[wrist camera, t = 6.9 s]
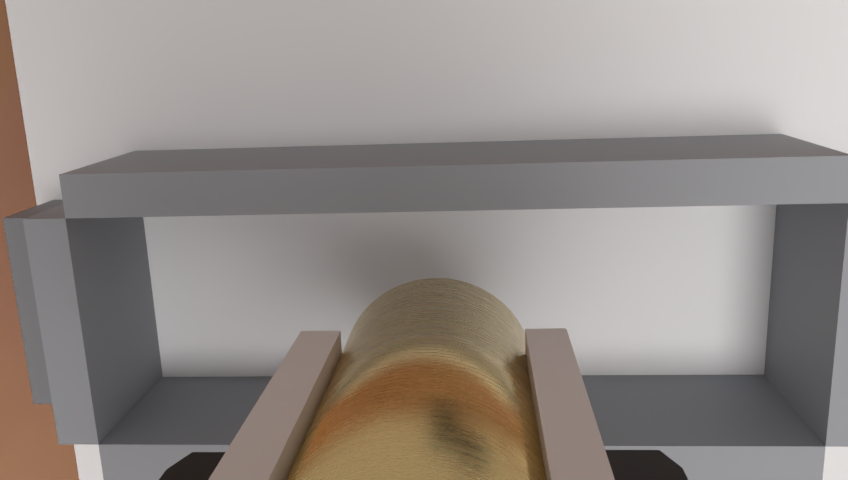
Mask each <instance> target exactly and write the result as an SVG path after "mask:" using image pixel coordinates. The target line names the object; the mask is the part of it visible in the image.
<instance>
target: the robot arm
mask: <svg viewBox="0 0 848 480" xmlns="http://www.w3.org/2000/svg"><path fill="white" fill-rule="evenodd" d="M341 355H342V347H341V331H301V332H300V333H299V335H298V337H297V338H296V340H295V341H294V343H293V345H292V346H291V348H290V349H289V351H288V353H287V354H286V356H285V357H284V359H283V361H282V362H281V364H280V365H279V367H278V369H277V370H276V372H275V373H274V375H273V377H272V378H271V380H270V381H269V383H268V385H267V386H266V388H265V390H264V391H263V393H262V394H261V396H260V398H259V399H258V401H257V402H256V404H255V406H254V407H253V409H252V410H251V412H250V414H249V415H248V417H247V418H246V420H245V422H244V423H243V425H242V426H241V428H240V430H239V431H238V433H237V434H236V436H235V438H234V439H233V441H232V442H231V444H230V446H229V447H228V449H227V451H226V452H192V453H190V454H189V455H187V456H186V457H184V458H183V459H181V460H180V461H178V462H177V463H175V464H174V465H172V466H171V467H169V468H168V469H166V471H165V472H164V473H163V475H162V476H161V477H160V479H159V480H287V477H288V475H289V473H290V471H291V468H292V466H293V464H294V461H295V459H296V457H297V455H298V452H299V450H300V448H301V446H302V443H303V441H304V439H305V437H306V434H307V432H308V430H309V427H310V425H311V423H312V421H313V418H314V416H315V414H316V412H317V409H318V407H319V405H320V402H321V400H322V398H323V396H324V393H325V391H326V389H327V387H328V384H329V382H330V380H331V378H332V375H333V373H334V371H335V368H336V366H337V364H338V362H339V359H340V357H341ZM525 355H526V361H527V367H528V374H529V380H530V386H531V392H532V398H533V404H534V410H535V416H536V422H537V428H538V434H539V440H540V446H541V452H542V458H543V464H544V470H545V476H546V480H688V478H687V476H686V474H685V472H684V470H683V468H682V467H681V466H679V465H678V464H677V463H675V462H674V461H673V460H672V459H670V458H669V457H668V456H666V455H665V454H664V453H663V452H661V451H660V450H605V447H604V444H603V441H602V438H601V435H600V432H599V429H598V426H597V422H596V419H595V416H594V413H593V410H592V407H591V404H590V401H589V398H588V394H587V391H586V388H585V385H584V382H583V379H582V376H581V373H580V369H579V366H578V363H577V360H576V357H575V354H574V351H573V348H572V344H571V341H570V338H569V335H568V332H567V329H566V328H545V329H525Z"/></svg>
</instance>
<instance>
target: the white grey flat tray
mask: <svg viewBox="0 0 848 480" xmlns="http://www.w3.org/2000/svg"><path fill="white" fill-rule="evenodd" d="M5 3H6V9H7V16H8V22H9V29H10V35H11V41H12V48H13V54H14V61H15V67H16V74H17V80H18V87H19V93H20V100H21V106H22V112H23V119H24V125H25V132H26V138H27V145H28V151H29V158H30V164H31V171H32V177H33V183H34V190H35V196H36V203H37V206H35V207H32V208H30V209H27V210H24V211H21V212H19V213H16V214H13V215H11V216H8V217H5V218H3V223H4V229H5V235H6V241H7V247H8V253H9V259H10V265H11V271H12V277H13V283H14V289H15V295H16V301H17V307H18V313H19V319H20V325H21V331H22V337H23V343H24V349H25V355H26V361H27V367H28V373H29V379H30V385H31V391H32V397H33V403H34V404H52V406H53V412H54V418H55V425H56V431H57V437H58V443H59V444H74V448H75V454H76V461H77V467H78V474H79V480H159V479H160V477H161V476H162V475H163V473H164V472H165V471H166V469H168V468H169V467H171V466H172V465H174V464H175V463H177V462H178V461H180V460H181V459H183V458H184V457H186V456H187V455H189V454H190V453H192V452H226V451H227V449H228V447H229V446H230V444H231V442H232V441H233V439H234V438H235V436H236V434H237V433H238V431H239V430H240V428H241V426H242V425H243V423H244V422H245V420H246V418H247V417H248V415H249V414H250V412H251V410H252V409H253V407H254V406H255V404H256V402H257V401H258V399H259V398H260V396H261V394H262V393H263V391H264V390H265V388H266V386H267V385H268V383H269V381H270V380H271V378H272V377H273V375H274V373H275V372H276V370H277V369H278V367H279V365H280V364H281V362H282V361H283V359H284V357H285V356H286V354H287V353H288V351H289V349H290V348H291V346H292V345H293V343H294V341H295V340H296V338H297V337H298V335H299V333H300V332H301V331H341V347H342V351H343V349H344V347H345V344H346V342H347V340H348V338H349V335H350V333H351V331H352V328H353V326H354V325H355V323H356V321H357V320H358V318H359V316H360V315H361V314H362V313H363V311H364V310H365V309H366V308H367V307H368V306H369V305H370V304H371V303H372V302H373V301H374V300H375V299H376V298H378V297H379V296H381V295H382V294H384V293H385V292H387V291H388V290H390V289H392V288H394V287H396V286H399V285H401V284H404V283H407V282H410V281H414V280H419V279H427V278H448V279H454V280H459V281H463V282H466V283H470V284H472V285H475V286H477V287H479V288H482V289H484V290H485V291H487V292H489V293H490V294H492V295H494V296H495V297H496V298H497V299H499V300H500V301H501V302H502V303H504V304H505V306H506V307H507V308H508V309H509V310H510V311H511V312H512V313H513V314H514V316H515V317H516V318H517V320H518V321H519V323H520V324H521V326H522V328H523V330H524V332H525V329H545V328H566V329H567V332H568V335H569V338H570V341H571V344H572V348H573V351H574V354H575V357H576V360H577V363H578V366H579V369H580V373H581V376H582V379H583V382H584V385H585V388H586V391H587V394H588V398H589V401H590V404H591V407H592V410H593V413H594V416H595V419H596V422H597V426H598V429H599V432H600V435H601V438H602V441H603V444H604V447H605V450H660V451H661V452H663V453H664V454H665V455H666V456H668V457H669V458H670V459H672V460H673V461H674V462H675V463H677V464H678V465H679V466H681V467H682V468H683V470H684V472H685V474H686V476H687V478H688V480H848V0H5Z"/></svg>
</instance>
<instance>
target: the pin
mask: <svg viewBox="0 0 848 480" xmlns="http://www.w3.org/2000/svg"><path fill="white" fill-rule="evenodd" d="M287 480H546V476H545V470H544V464H543V458H542V452H541V446H540V440H539V434H538V428H537V422H536V416H535V410H534V404H533V398H532V392H531V386H530V380H529V374H528V367H527V361H526V355H525V332H524V330H523V328H522V326H521V324H520V323H519V321H518V320H517V318H516V317H515V316H514V314H513V313H512V312H511V311H510V310H509V309H508V308H507V307H506V306H505V304H504V303H502V302H501V301H500V300H499V299H497V298H496V297H495V296H494V295H492V294H490V293H489V292H487V291H485V290H484V289H482V288H479V287H477V286H475V285H472V284H470V283H466V282H463V281H459V280H454V279H448V278H427V279H419V280H414V281H410V282H407V283H404V284H401V285H399V286H396V287H394V288H392V289H390V290H388V291H387V292H385V293H384V294H382V295H381V296H379V297H378V298H376V299H375V300H374V301H373V302H372V303H371V304H370V305H369V306H368V307H367V308H366V309H365V310H364V311H363V313H362V314H361V315H360V316H359V318H358V320H357V321H356V323H355V325H354V326H353V328H352V331H351V333H350V335H349V338H348V340H347V342H346V344H345V347H344V349H343V351H342V355H341V357H340V359H339V362H338V364H337V366H336V368H335V371H334V373H333V375H332V378H331V380H330V382H329V384H328V387H327V389H326V391H325V393H324V396H323V398H322V400H321V402H320V405H319V407H318V409H317V412H316V414H315V416H314V418H313V421H312V423H311V425H310V427H309V430H308V432H307V434H306V437H305V439H304V441H303V443H302V446H301V448H300V450H299V452H298V455H297V457H296V459H295V461H294V464H293V466H292V468H291V471H290V473H289V475H288V477H287Z"/></svg>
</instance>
